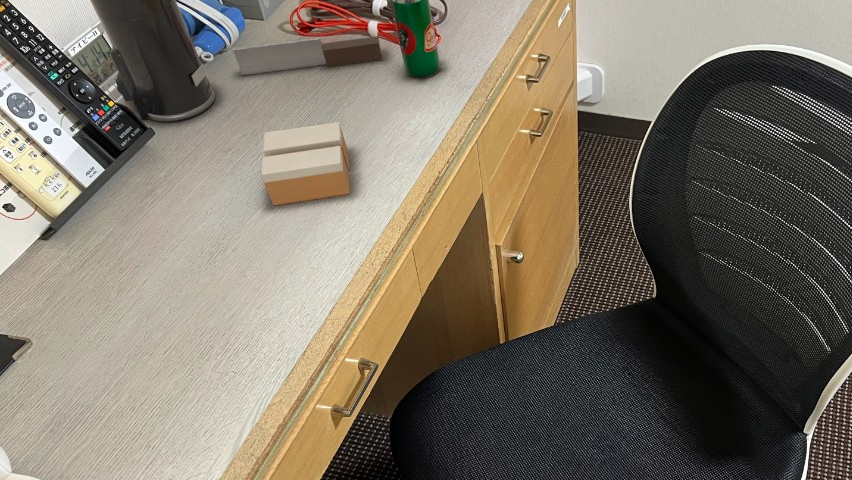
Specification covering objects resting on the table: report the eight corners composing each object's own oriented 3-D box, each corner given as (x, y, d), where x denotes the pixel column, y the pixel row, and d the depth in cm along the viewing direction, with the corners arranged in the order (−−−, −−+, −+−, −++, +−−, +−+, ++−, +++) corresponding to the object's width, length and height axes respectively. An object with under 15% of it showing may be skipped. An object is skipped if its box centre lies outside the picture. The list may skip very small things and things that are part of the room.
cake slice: (273, 205, 98) (261, 174, 94) (274, 188, 100) (262, 156, 97) (350, 193, 99) (340, 162, 96) (349, 176, 101) (340, 145, 98)
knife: (242, 78, 118) (232, 52, 115) (243, 70, 119) (233, 45, 117) (382, 59, 121) (376, 33, 118) (381, 52, 122) (375, 26, 119)
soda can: (438, 79, 117) (423, -5, 108) (403, 80, 117) (385, -4, 108) (442, 61, 120) (428, -21, 111) (408, 62, 120) (391, -20, 111)
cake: (274, 181, 101) (262, 150, 98) (275, 163, 103) (264, 132, 100) (349, 170, 102) (339, 139, 99) (348, 152, 105) (339, 121, 101)
